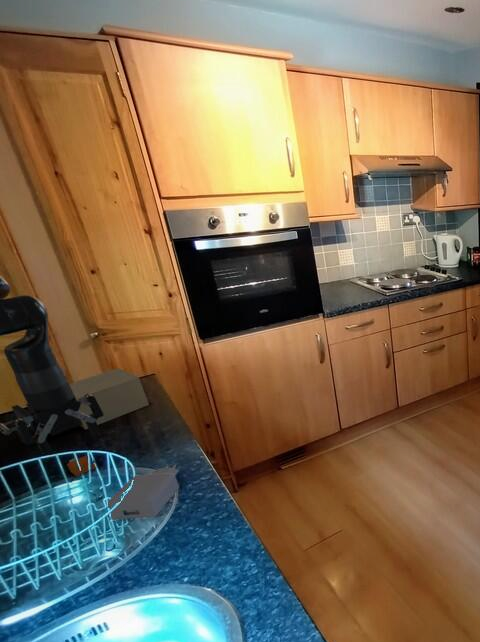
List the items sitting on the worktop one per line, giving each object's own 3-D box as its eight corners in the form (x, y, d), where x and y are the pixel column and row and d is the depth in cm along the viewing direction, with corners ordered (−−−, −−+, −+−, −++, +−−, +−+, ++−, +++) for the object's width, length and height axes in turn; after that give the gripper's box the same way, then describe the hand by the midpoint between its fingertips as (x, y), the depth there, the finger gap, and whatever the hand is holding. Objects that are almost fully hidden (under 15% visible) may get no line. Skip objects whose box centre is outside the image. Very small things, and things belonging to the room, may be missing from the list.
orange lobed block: (97, 468, 112) (93, 459, 111) (77, 477, 108) (73, 468, 107) (83, 458, 115) (79, 449, 114) (63, 466, 112) (58, 458, 111)
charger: (194, 472, 110) (157, 517, 97) (154, 475, 109) (110, 520, 96) (189, 456, 108) (150, 500, 95) (148, 459, 107) (102, 503, 94)
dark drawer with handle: (16, 452, 116) (3, 426, 113) (0, 439, 121) (-14, 414, 118) (107, 417, 131) (97, 393, 128) (89, 407, 136) (79, 384, 133)
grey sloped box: (85, 430, 127) (72, 400, 123) (66, 418, 133) (52, 389, 129) (149, 405, 140) (138, 377, 136) (128, 395, 145) (118, 368, 141)
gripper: (76, 369, 109) (101, 425, 115) (-6, 394, 97) (27, 455, 104) (91, 375, 105) (115, 433, 112) (7, 402, 94) (40, 465, 101)
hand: (73, 444), depth 108 cm, fingers open, 8 cm apart
